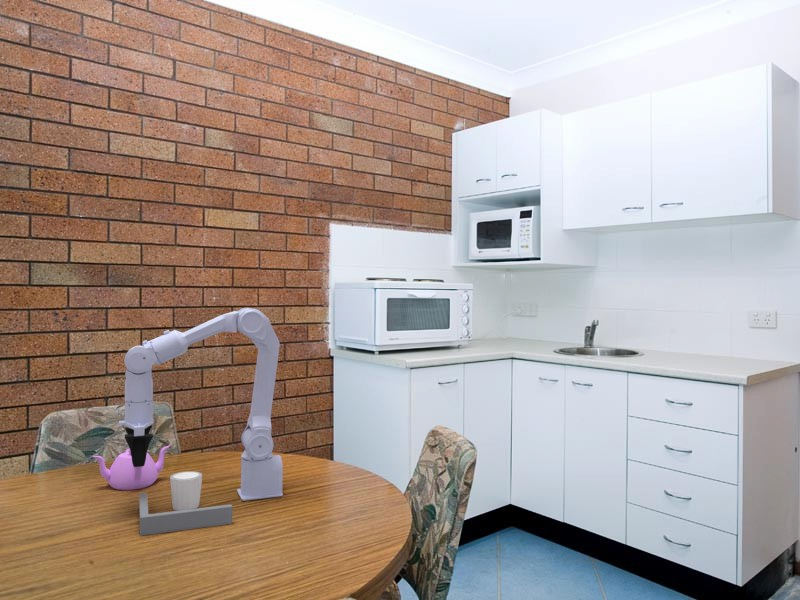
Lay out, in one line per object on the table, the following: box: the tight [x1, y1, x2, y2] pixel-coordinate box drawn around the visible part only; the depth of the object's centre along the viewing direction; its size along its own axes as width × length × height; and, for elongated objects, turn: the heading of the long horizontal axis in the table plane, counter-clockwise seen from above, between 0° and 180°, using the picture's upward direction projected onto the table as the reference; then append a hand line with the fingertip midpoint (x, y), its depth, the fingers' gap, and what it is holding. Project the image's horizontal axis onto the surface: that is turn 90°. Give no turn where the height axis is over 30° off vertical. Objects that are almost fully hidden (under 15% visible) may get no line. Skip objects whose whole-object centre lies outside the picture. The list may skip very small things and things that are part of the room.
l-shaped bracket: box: [138, 492, 234, 537], centre depth 130 cm, size 18×16×4 cm
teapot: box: [92, 444, 171, 491], centre depth 151 cm, size 12×14×9 cm
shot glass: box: [169, 470, 203, 511], centre depth 136 cm, size 7×7×7 cm
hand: (138, 461), depth 135 cm, fingers open, 7 cm apart
